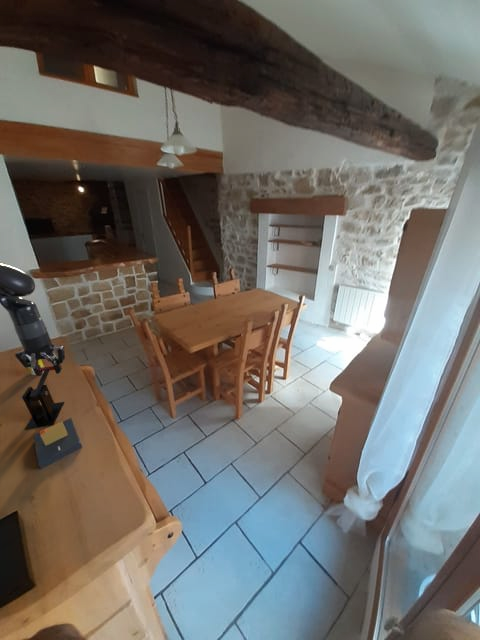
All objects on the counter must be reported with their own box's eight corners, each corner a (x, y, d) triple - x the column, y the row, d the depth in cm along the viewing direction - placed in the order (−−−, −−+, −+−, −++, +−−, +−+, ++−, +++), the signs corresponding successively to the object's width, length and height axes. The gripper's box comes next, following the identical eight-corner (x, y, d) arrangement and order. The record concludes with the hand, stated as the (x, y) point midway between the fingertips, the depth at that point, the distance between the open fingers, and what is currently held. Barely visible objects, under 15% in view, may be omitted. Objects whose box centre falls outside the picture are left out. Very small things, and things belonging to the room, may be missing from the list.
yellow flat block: (66, 431, 76) (61, 420, 74) (67, 435, 75) (62, 424, 73) (44, 442, 73) (39, 431, 71) (45, 446, 72) (39, 434, 70)
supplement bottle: (46, 367, 108) (38, 348, 104) (44, 374, 104) (35, 355, 99) (31, 370, 106) (22, 351, 102) (28, 378, 102) (18, 358, 97)
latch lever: (41, 370, 89) (38, 365, 88) (57, 368, 90) (55, 363, 89) (27, 402, 79) (23, 397, 78) (45, 399, 81) (42, 394, 79)
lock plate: (83, 449, 75) (80, 442, 73) (42, 471, 69) (38, 463, 67) (74, 424, 82) (71, 417, 81) (36, 441, 77) (32, 434, 75)
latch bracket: (39, 408, 88) (27, 382, 83) (65, 404, 90) (54, 378, 85) (26, 431, 80) (11, 404, 74) (54, 426, 81) (42, 399, 76)
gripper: (-1, 341, 77) (21, 383, 85) (53, 335, 80) (69, 377, 88) (12, 329, 83) (31, 370, 91) (61, 324, 87) (75, 364, 94)
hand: (49, 373), depth 90 cm, fingers closed on latch lever, 5 cm apart
